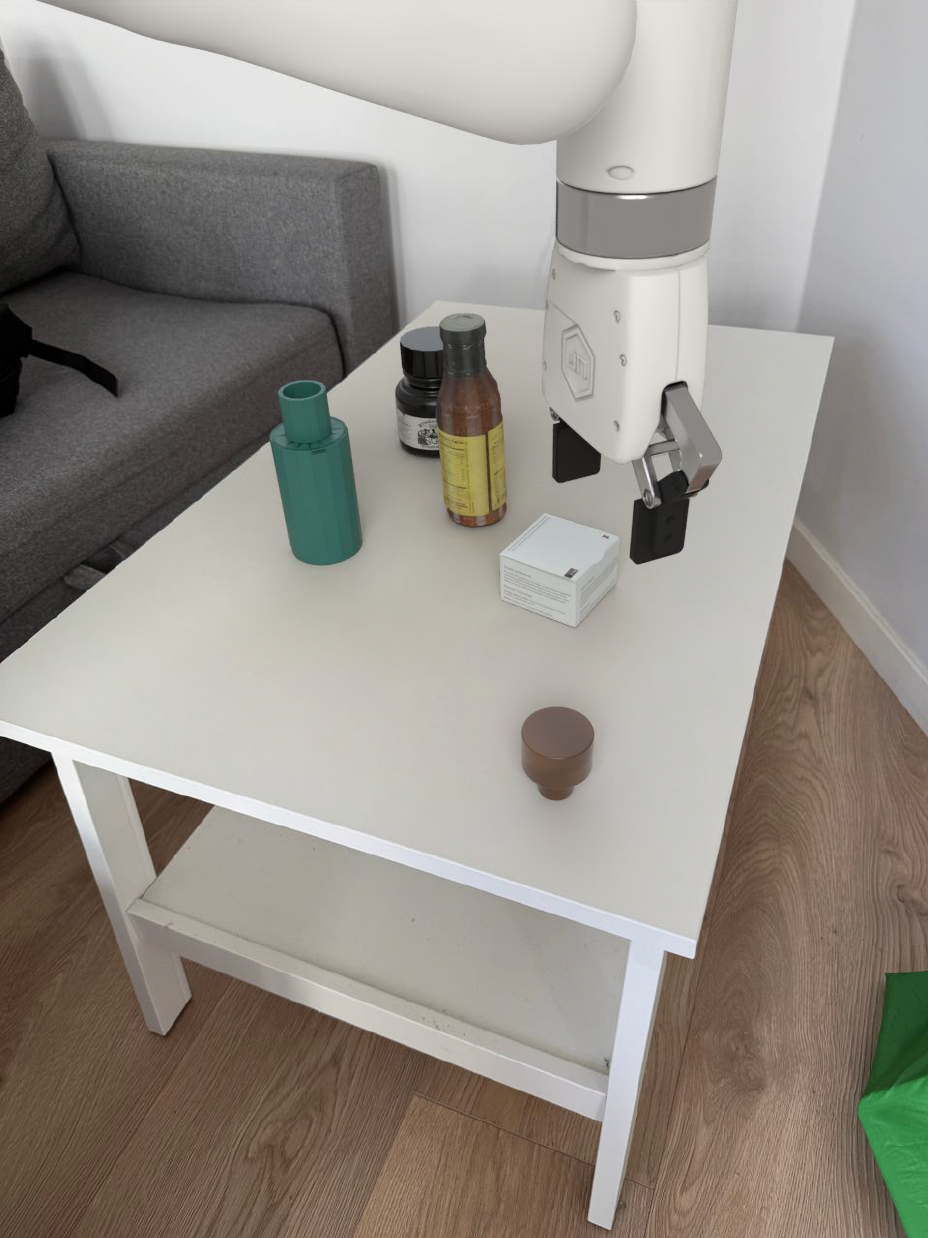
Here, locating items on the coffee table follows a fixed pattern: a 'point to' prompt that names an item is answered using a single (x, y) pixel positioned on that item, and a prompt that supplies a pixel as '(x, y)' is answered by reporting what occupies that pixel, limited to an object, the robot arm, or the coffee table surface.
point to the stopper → (557, 750)
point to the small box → (559, 569)
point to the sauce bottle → (470, 426)
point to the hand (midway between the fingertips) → (613, 513)
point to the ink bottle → (420, 390)
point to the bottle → (315, 476)
